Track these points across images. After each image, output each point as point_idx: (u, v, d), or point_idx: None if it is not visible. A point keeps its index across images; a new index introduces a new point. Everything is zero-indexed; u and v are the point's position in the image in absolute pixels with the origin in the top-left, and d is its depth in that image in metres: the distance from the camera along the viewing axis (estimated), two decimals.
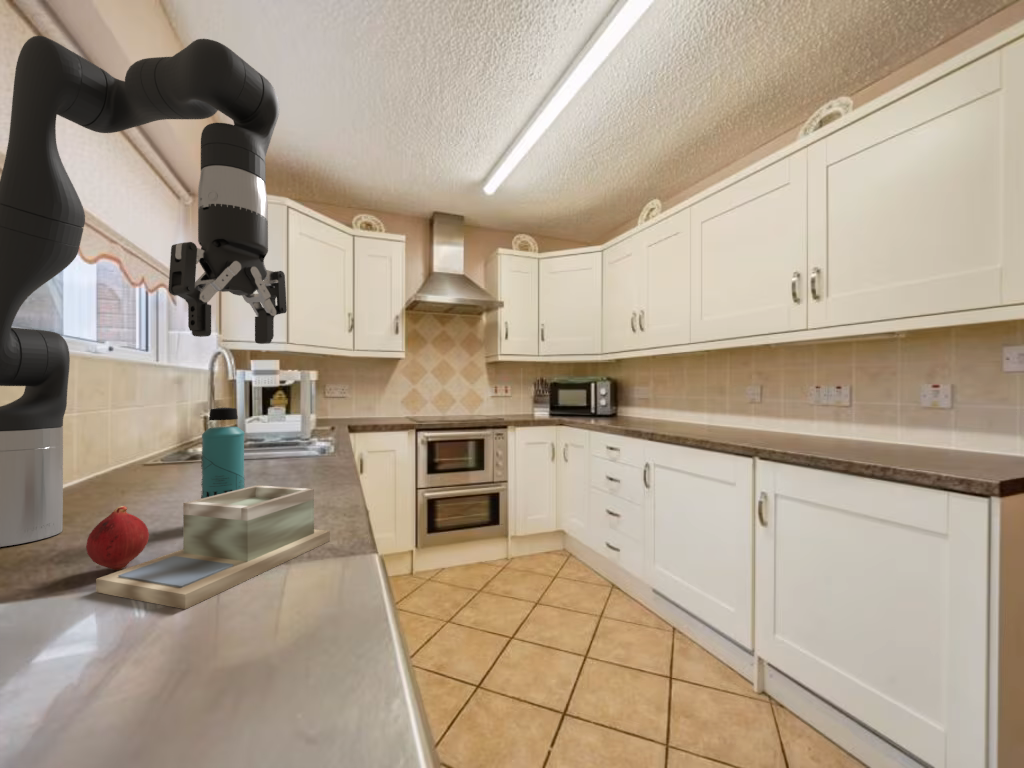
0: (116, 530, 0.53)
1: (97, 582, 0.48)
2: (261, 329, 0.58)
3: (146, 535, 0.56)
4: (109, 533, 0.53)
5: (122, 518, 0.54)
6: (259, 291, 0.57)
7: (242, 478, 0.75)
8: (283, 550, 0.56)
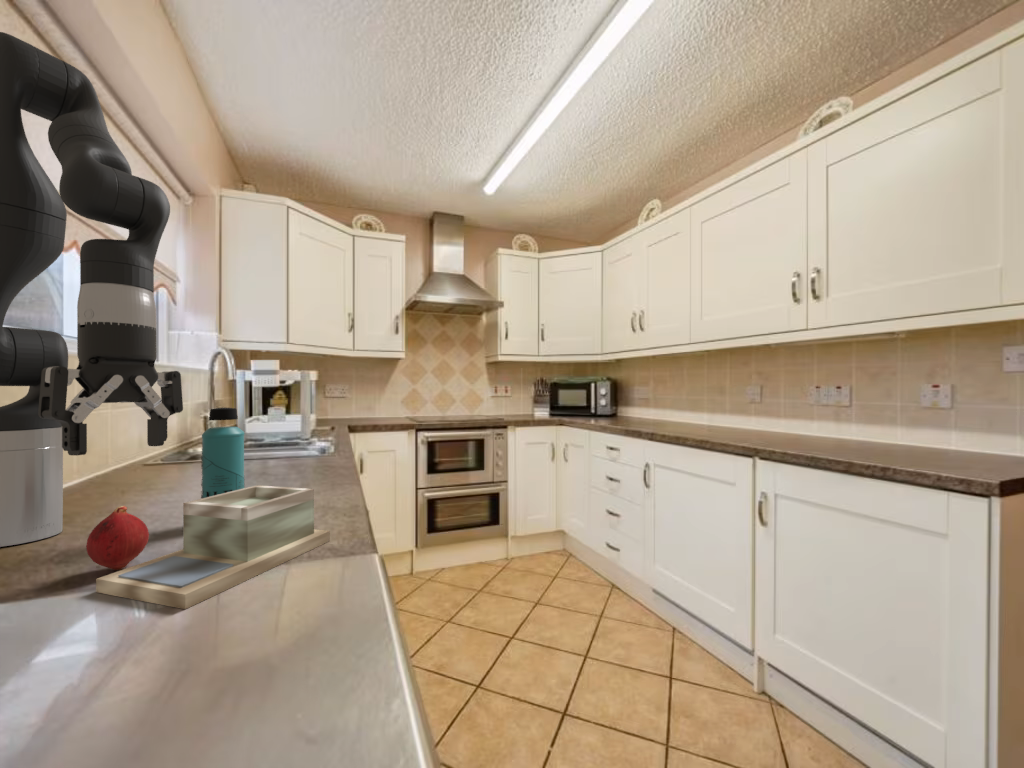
0: (116, 530, 0.53)
1: (97, 582, 0.48)
2: (153, 432, 0.59)
3: (146, 535, 0.56)
4: (109, 533, 0.53)
5: (122, 518, 0.54)
6: (147, 398, 0.57)
7: (242, 478, 0.75)
8: (283, 550, 0.56)
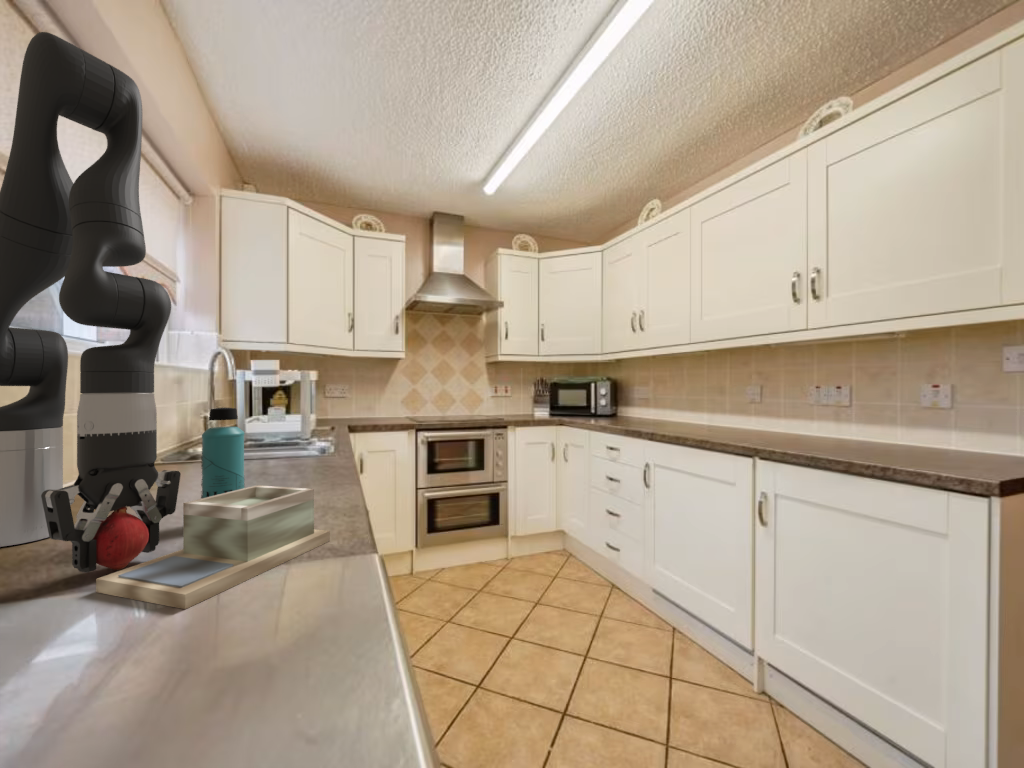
0: (116, 530, 0.53)
1: (97, 582, 0.48)
2: None
3: (146, 535, 0.56)
4: (109, 533, 0.53)
5: (122, 518, 0.54)
6: (142, 502, 0.56)
7: (242, 478, 0.75)
8: (283, 550, 0.56)
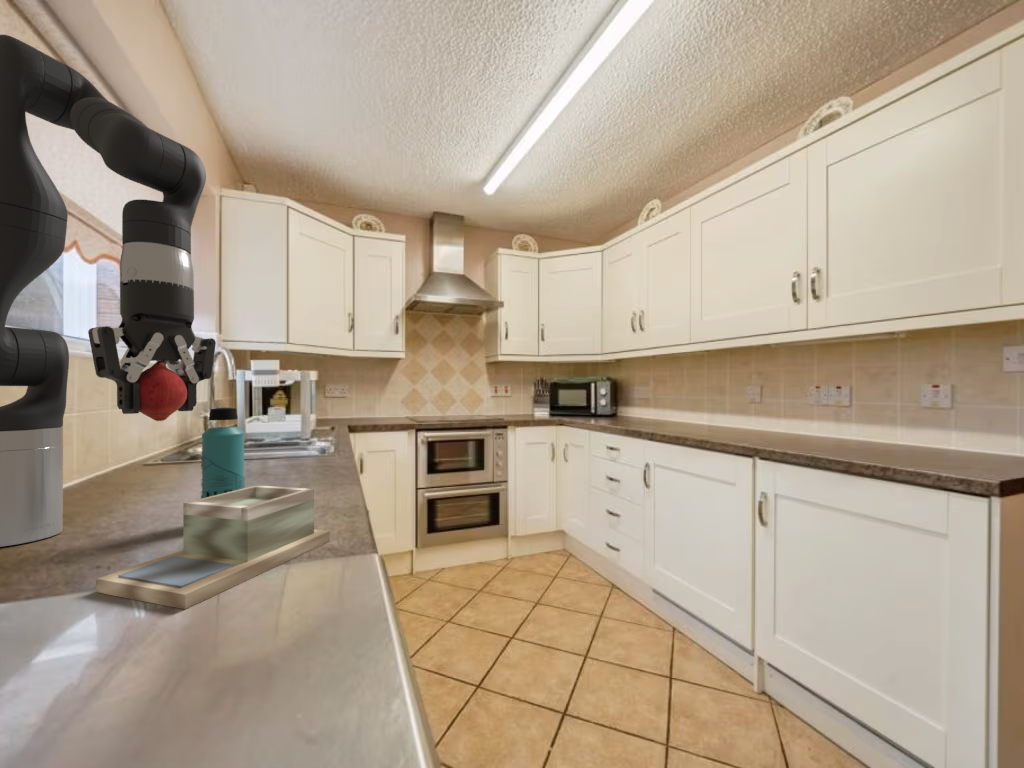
0: (158, 378, 0.54)
1: (97, 582, 0.48)
2: None
3: (185, 390, 0.57)
4: (151, 379, 0.54)
5: (163, 370, 0.56)
6: (181, 358, 0.58)
7: (242, 478, 0.75)
8: (283, 550, 0.56)
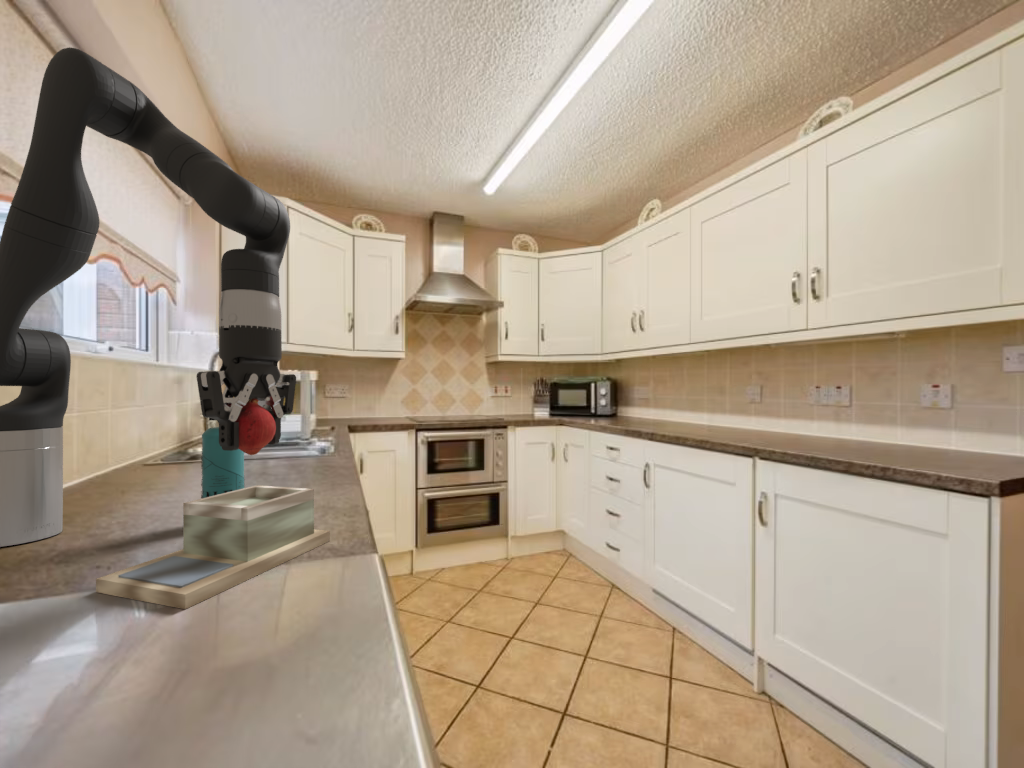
0: (254, 416, 0.58)
1: (97, 582, 0.48)
2: None
3: (275, 425, 0.61)
4: (248, 417, 0.58)
5: (257, 407, 0.59)
6: (270, 396, 0.61)
7: (242, 478, 0.75)
8: (283, 550, 0.56)
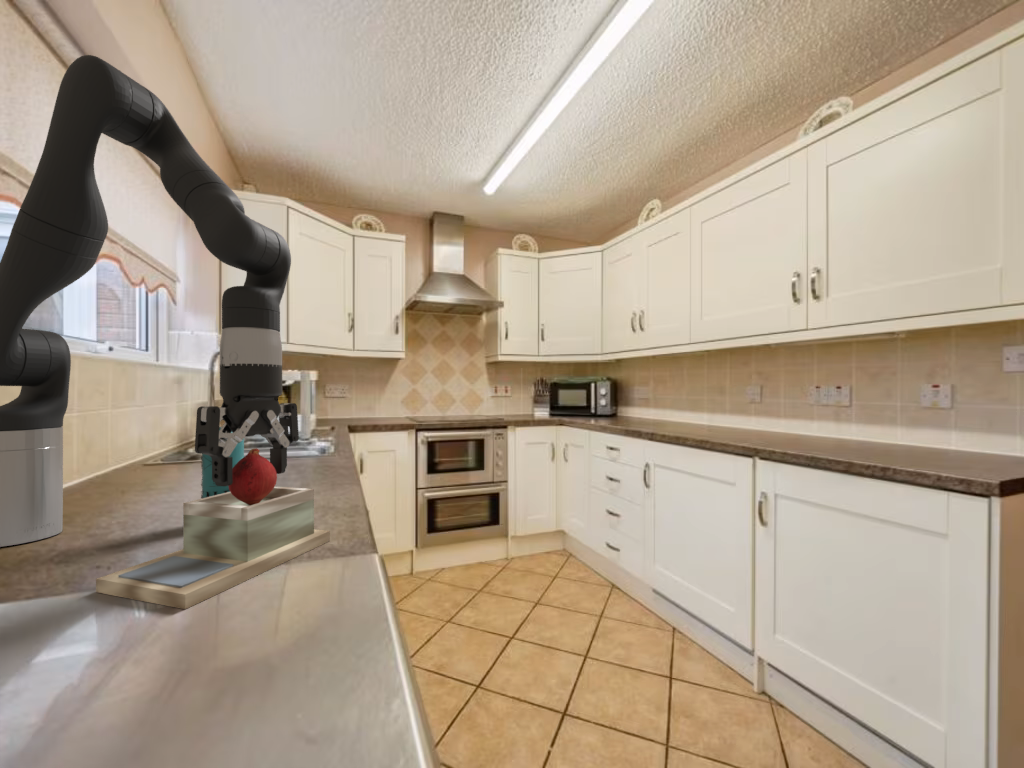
0: (255, 468, 0.58)
1: (97, 582, 0.48)
2: (275, 461, 0.64)
3: (276, 475, 0.61)
4: (249, 470, 0.58)
5: (257, 459, 0.59)
6: (274, 430, 0.62)
7: None
8: (283, 550, 0.56)
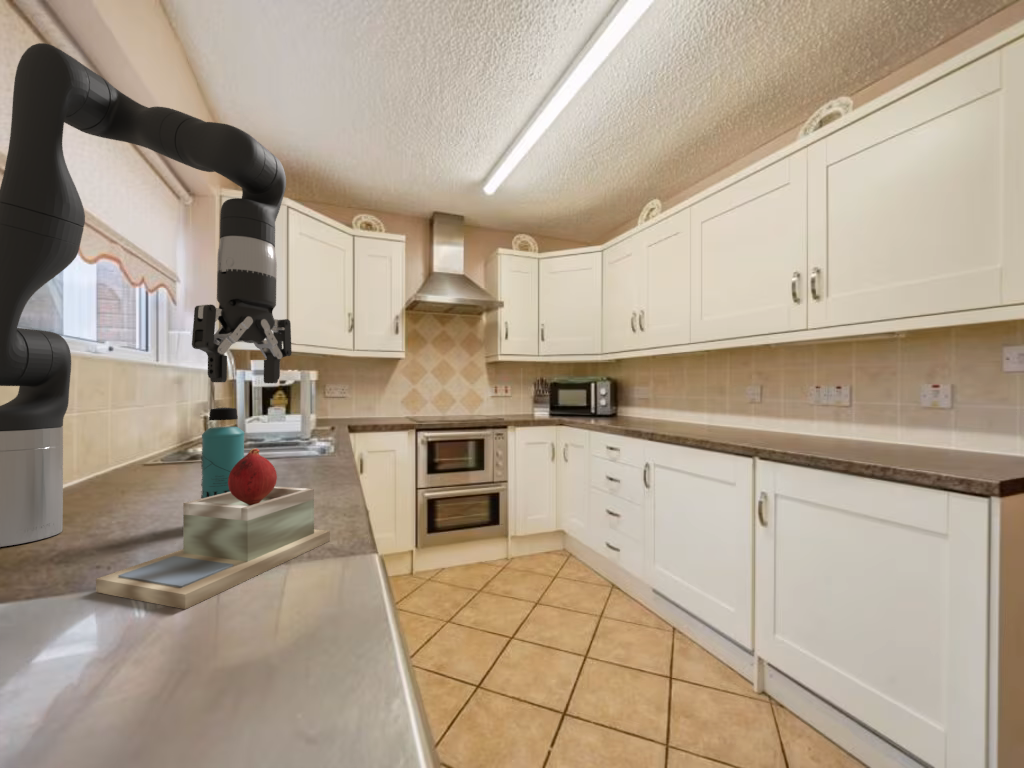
0: (254, 468, 0.58)
1: (97, 582, 0.48)
2: (269, 371, 0.67)
3: (276, 475, 0.61)
4: (249, 470, 0.58)
5: (257, 459, 0.59)
6: (268, 339, 0.65)
7: None
8: (283, 550, 0.56)
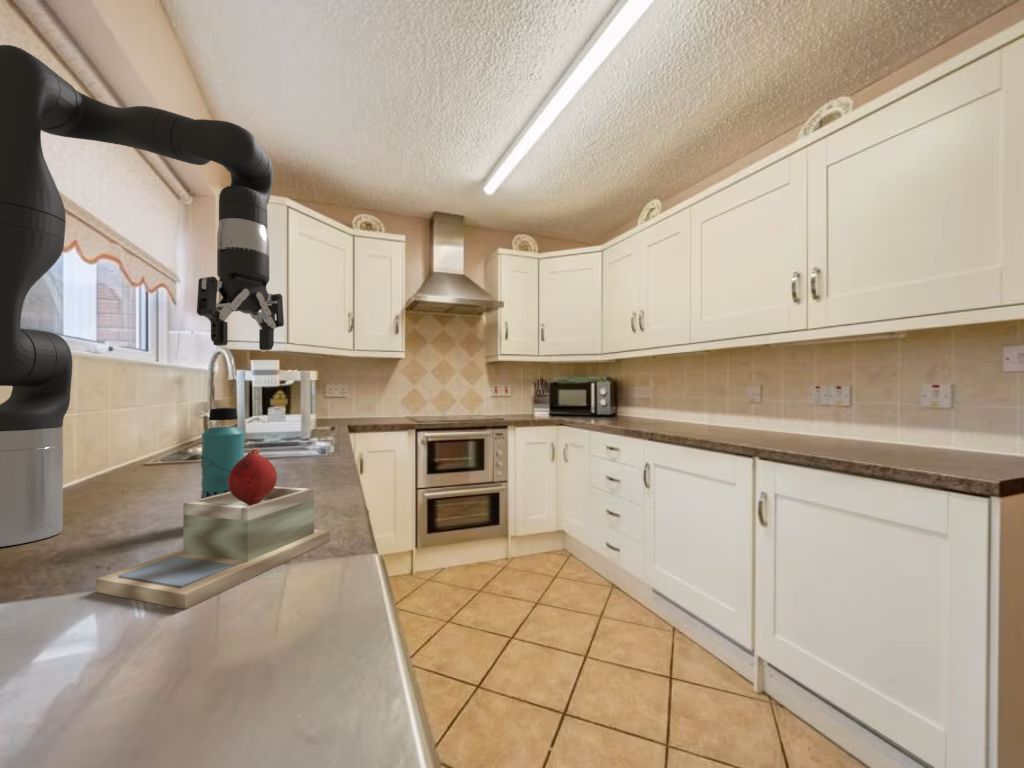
0: (254, 468, 0.58)
1: (97, 582, 0.48)
2: (264, 339, 0.76)
3: (276, 475, 0.61)
4: (249, 470, 0.58)
5: (257, 459, 0.59)
6: (262, 310, 0.74)
7: None
8: (283, 550, 0.56)
